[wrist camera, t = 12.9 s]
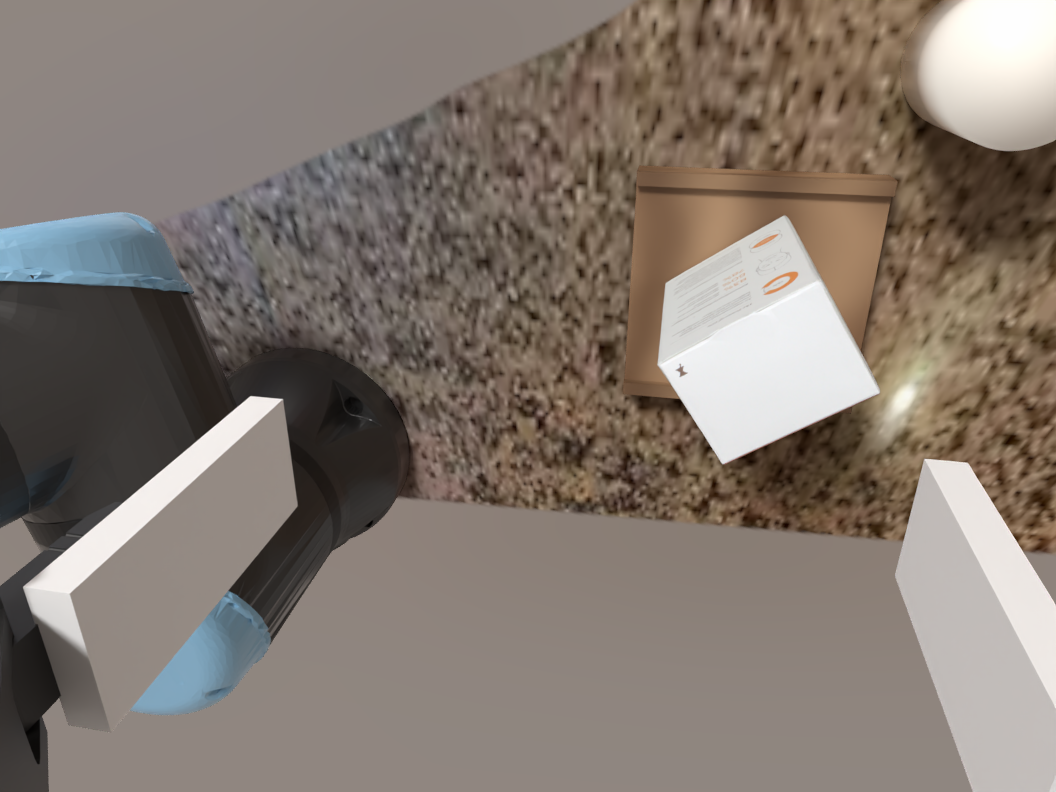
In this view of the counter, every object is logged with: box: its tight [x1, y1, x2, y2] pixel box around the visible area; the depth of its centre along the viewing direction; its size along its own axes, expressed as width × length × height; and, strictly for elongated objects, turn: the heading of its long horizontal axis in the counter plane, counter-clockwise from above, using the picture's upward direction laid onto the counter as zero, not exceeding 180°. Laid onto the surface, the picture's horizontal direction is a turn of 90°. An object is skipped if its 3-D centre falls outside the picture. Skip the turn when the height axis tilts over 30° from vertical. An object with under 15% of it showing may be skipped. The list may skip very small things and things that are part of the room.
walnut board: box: [623, 166, 897, 413], centre depth 48 cm, size 14×14×2 cm
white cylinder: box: [900, 0, 1056, 151], centre depth 38 cm, size 7×9×8 cm
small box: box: [658, 216, 880, 464], centre depth 42 cm, size 8×6×13 cm
